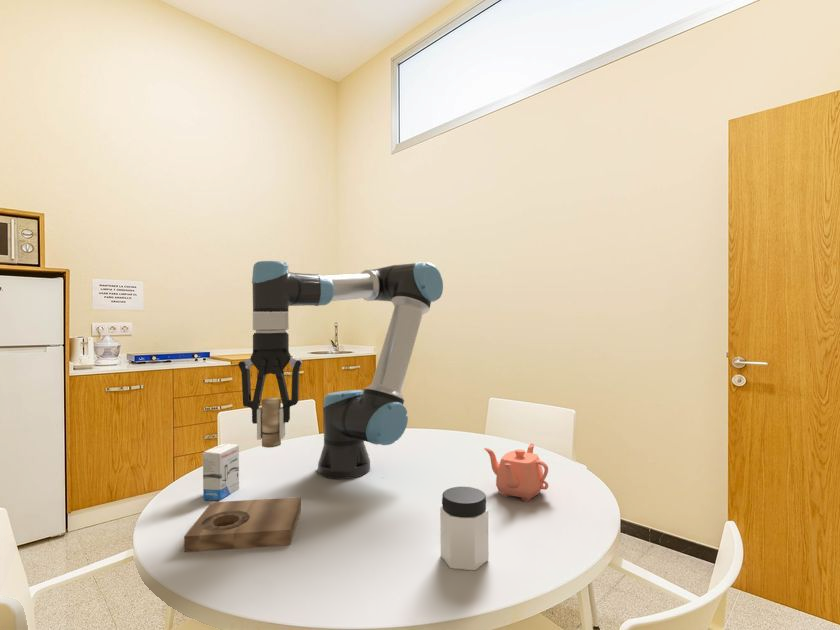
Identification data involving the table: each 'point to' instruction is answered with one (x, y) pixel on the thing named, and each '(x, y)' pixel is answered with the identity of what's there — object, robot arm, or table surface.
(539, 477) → the teapot
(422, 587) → the table surface
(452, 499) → the jar
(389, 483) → the table surface
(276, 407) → the dowel
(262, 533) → the board
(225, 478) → the ink box
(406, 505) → the table surface
